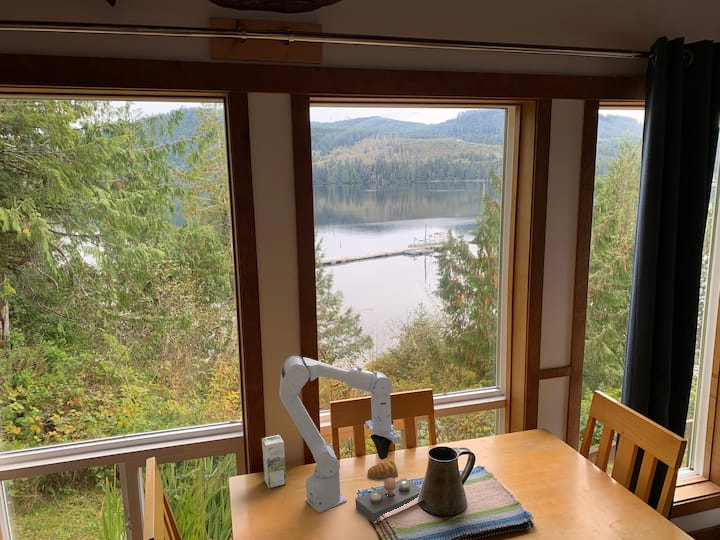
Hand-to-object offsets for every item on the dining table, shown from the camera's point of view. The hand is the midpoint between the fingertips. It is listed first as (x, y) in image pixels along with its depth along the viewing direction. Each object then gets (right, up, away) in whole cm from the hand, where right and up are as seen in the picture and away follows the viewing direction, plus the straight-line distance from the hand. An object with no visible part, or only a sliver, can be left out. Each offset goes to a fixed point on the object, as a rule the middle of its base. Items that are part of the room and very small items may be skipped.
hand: (383, 457), depth 158 cm
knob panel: (+2, -11, -6) cm, 13 cm away
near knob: (-2, -11, -9) cm, 15 cm away
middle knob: (+2, -9, -6) cm, 11 cm away
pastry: (+1, -10, +11) cm, 15 cm away
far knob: (+6, -10, -3) cm, 12 cm away
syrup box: (-33, -11, +9) cm, 36 cm away
